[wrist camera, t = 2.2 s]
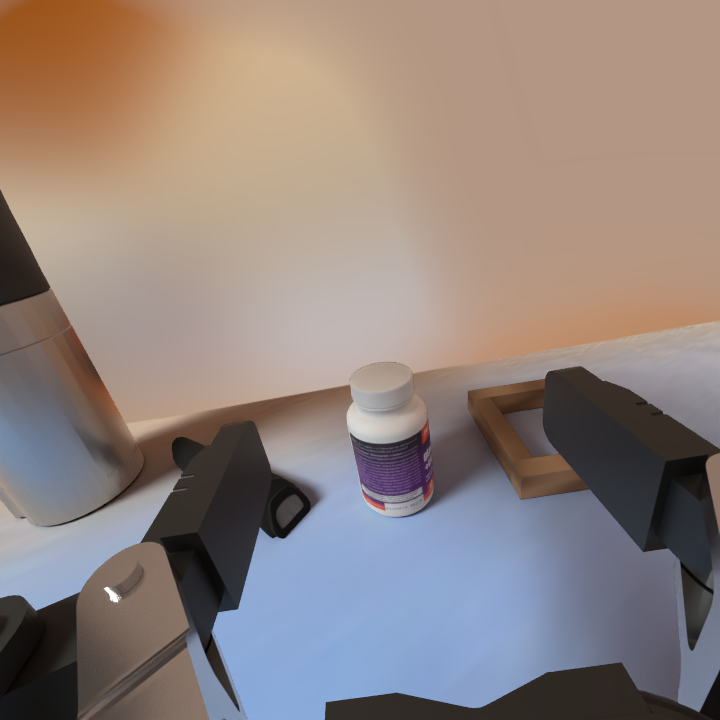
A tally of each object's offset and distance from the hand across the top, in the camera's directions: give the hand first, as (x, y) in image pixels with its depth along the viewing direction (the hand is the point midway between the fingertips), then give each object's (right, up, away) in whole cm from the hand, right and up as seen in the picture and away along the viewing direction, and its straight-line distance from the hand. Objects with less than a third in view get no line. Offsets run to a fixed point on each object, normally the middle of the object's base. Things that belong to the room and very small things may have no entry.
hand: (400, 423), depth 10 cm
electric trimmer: (-12, -9, +19) cm, 24 cm away
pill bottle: (+2, -8, +16) cm, 18 cm away
